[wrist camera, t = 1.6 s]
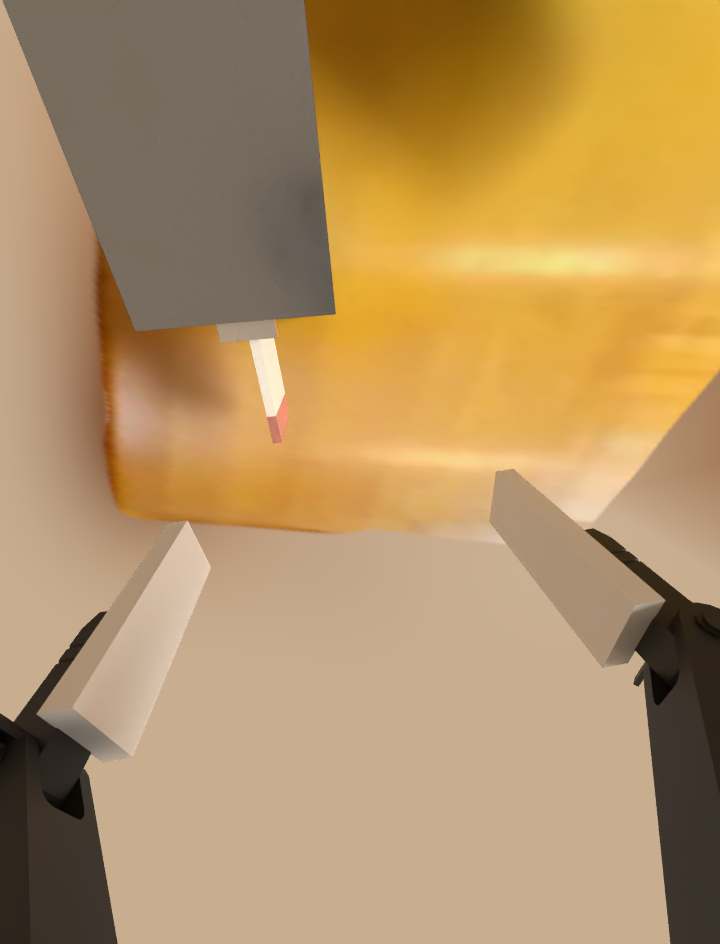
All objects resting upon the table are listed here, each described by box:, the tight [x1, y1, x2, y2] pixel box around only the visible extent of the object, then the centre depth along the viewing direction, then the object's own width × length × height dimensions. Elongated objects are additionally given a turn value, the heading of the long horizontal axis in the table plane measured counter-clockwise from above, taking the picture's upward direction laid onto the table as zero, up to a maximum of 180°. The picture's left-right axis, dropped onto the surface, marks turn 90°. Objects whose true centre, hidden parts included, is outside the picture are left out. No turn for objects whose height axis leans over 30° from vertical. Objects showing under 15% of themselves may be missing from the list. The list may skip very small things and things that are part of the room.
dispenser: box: [3, 0, 336, 343], centre depth 20 cm, size 13×10×16 cm
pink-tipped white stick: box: [249, 338, 289, 443], centre depth 20 cm, size 18×1×6 cm, turn 4°
